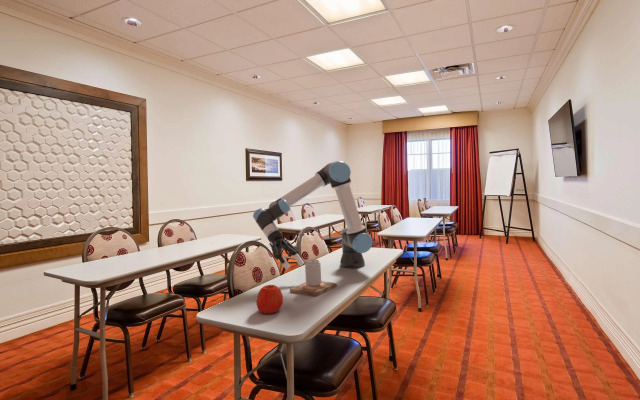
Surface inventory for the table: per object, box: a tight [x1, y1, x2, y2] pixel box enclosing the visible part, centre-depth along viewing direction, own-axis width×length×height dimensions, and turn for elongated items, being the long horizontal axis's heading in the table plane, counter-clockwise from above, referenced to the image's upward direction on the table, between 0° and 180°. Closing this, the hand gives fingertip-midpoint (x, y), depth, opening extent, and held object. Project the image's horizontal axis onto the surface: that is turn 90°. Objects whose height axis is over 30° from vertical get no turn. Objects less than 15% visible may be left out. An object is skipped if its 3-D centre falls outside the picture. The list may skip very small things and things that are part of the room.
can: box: [304, 259, 322, 287], centre depth 165 cm, size 8×8×12 cm
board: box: [289, 280, 338, 297], centre depth 166 cm, size 18×15×2 cm
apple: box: [256, 284, 284, 315], centre depth 138 cm, size 11×11×11 cm
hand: (295, 266), depth 173 cm, fingers open, 13 cm apart
